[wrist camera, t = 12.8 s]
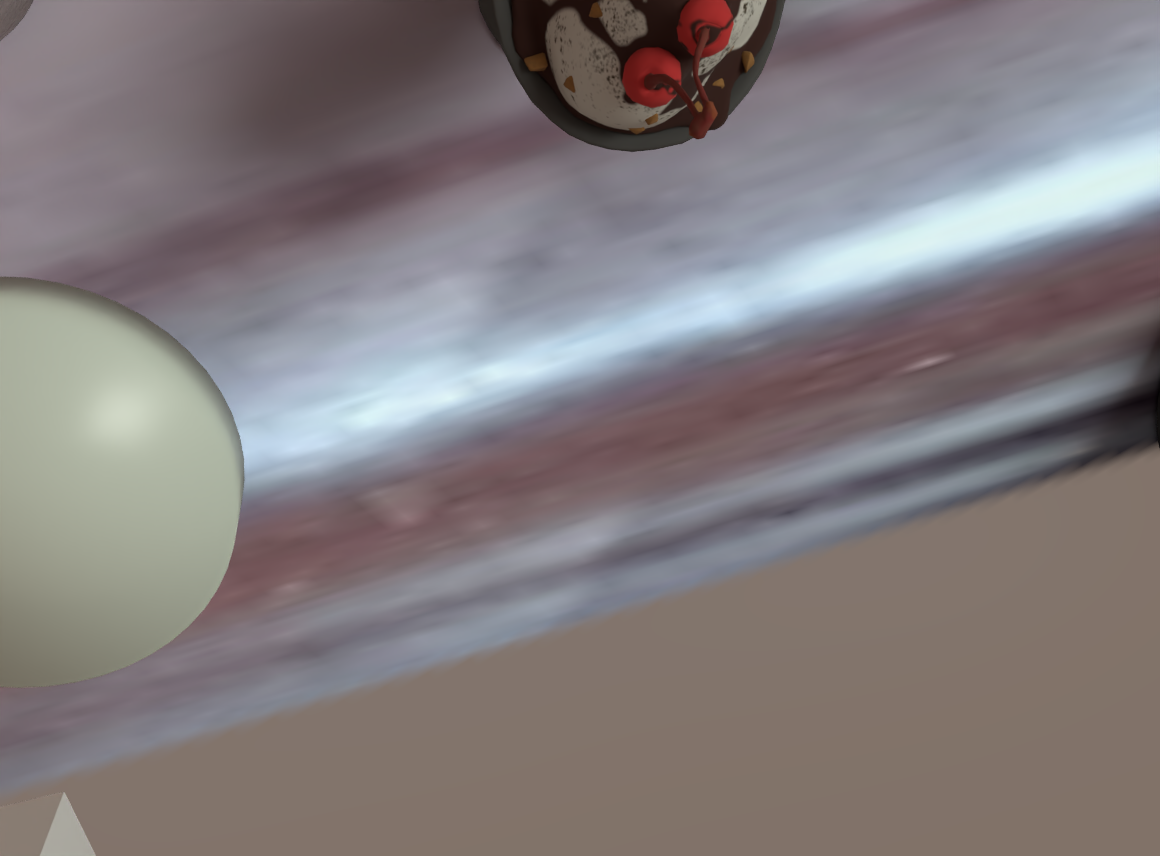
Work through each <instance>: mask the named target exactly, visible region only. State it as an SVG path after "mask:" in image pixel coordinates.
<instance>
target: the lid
mask: <svg viewBox="0 0 1160 856" xmlns="http://www.w3.org/2000/svg"><path fill="white" fill-rule="evenodd" d="M243 488H244V457H243V451H242V446H241V440H240V435H239V432H238V430H237V427H236V424H235V421H234V418H233V415H232V413H231V411H230V409H229V407H228V405H227V403H226V401H225V399H224V397H223V395H222V393H221V391H220V390H219V388H218V387H217V385H216V384H215V382H214V381H213V380H212V378H211V377H210V375H209V374H208V372H207V371H206V370H205V369H204V368H203V366H202V365H201V364H200V363H199V362H198V361H197V360H196V359H195V358H194V356H193V355H192V354H191V353H190V352H189V351H188V350H187V349H186V348H185V347H184V346H182V345H181V344H180V343H179V342H178V341H177V340H175V339H174V338H173V337H172V336H171V335H170V334H169V333H167V332H166V331H165V330H163V329H162V328H160V327H159V326H157V325H156V324H154V323H153V322H151V321H150V320H148V319H147V318H146V317H144V316H142V315H140V314H139V313H137V312H135V311H133V310H131V309H129V308H127V307H125V306H123V305H122V304H120V303H118V302H116V301H113V300H110V299H108V298H105V297H103V296H100V295H98V294H95V293H93V292H90V291H87V290H84V289H80V288H76V287H73V286H69V285H65V284H62V283H58V282H51V281H45V280H39V279H32V278H22V277H0V687H16V688H22V687H44V686H53V685H60V684H67V683H74V682H78V681H83V680H87V679H91V678H95V677H99V676H102V675H105V674H108V673H111V672H113V671H116V670H119V669H122V668H124V667H127V666H129V665H131V664H133V663H135V662H137V661H139V660H141V659H143V658H145V657H147V656H149V655H151V654H152V653H154V652H155V651H157V650H159V649H160V648H162V647H163V646H165V645H166V644H168V643H169V642H171V641H172V640H173V639H174V638H175V637H177V636H178V635H179V634H180V633H181V632H183V631H184V630H185V629H186V628H187V627H188V626H189V625H190V624H191V623H192V622H193V621H194V620H195V619H196V618H197V617H198V615H199V614H200V613H201V612H202V611H203V610H204V609H205V607H206V606H207V604H208V603H209V601H210V600H211V598H212V597H213V595H214V594H215V592H216V591H217V589H218V587H219V585H220V583H221V581H222V579H223V577H224V575H225V573H226V570H227V568H228V565H229V561H230V558H231V554H232V551H233V548H234V542H235V537H236V531H237V526H238V520H239V515H240V509H241V503H242V496H243Z"/></svg>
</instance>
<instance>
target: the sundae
mask: <svg viewBox="0 0 1160 856" xmlns="http://www.w3.org/2000/svg"><path fill="white" fill-rule="evenodd" d="M784 3H785V0H479V5H480V10H481V13H482V15H483V17H484V19H485V21H486V23H487V26H488V27H489V29H490V31H491V32H492V34H493V35H494V37H495V38H496V40H497V41H498V42H499V43H500V44H501V45H502V49H503V51H504V53H505V55H506V57H507V59H508V61H509V63H510V65H511V67H512V69H513V71H514V73H515V75H516V77H517V79H518V80H519V82H520V84H521V85H522V87H523V88H524V90H525V92H526V93H527V95H528V96H529V98H530V100H531V101H532V102H533V103H534V104H535V105H536V106H537V107H538V108H539V109H540V110H541V111H542V112H543V113H544V114H545V115H546V116H547V117H548V118H549V119H550V120H551V121H552V122H553V123H555V124H556V125H557V126H558V127H560V128H561V129H562V130H563V131H565V132H566V133H567V134H569V135H571V136H573V137H575V138H577V139H579V140H582V141H584V142H586V143H588V144H591V145H595V146H599V147H603V148H606V149H611V150H621V151H630V152H635V151H645V150H654V149H660V148H664V147H668V146H673V145H677V144H682V143H684V142H686V141H688V140H690V139H692V138H695V139H701V138H704V137H705V135H706V133H707V131H708V130H715V129H717V128H719V127H721V126H722V125H723V124H724V123H725V121H726V119H727V118H728V115H730V114H731V113H732V111H733V110H734V109H735V108H736V107H737V106H738V104H739V103H740V102H741V101H742V100H743V98H744V97H745V96H746V95H747V94H748V92H749V91H750V89H751V88H752V86H753V85H754V83H755V82H756V80H757V78H758V77H759V75H760V74H761V72H762V70H763V68H764V65H765V63H766V61H767V58H768V56H769V54H770V51H771V49H772V46H773V43H774V40H775V37H776V34H777V31H778V28H779V24H780V20H781V15H782V11H783V7H784Z"/></svg>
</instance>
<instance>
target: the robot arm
mask: <svg viewBox="0 0 1160 856" xmlns="http://www.w3.org/2000/svg"><path fill="white" fill-rule="evenodd" d="M1157 436H1158V443H1159V447H1160V391H1159V396H1158V404H1157ZM0 856H96V855H95V853H94V851H93V849H92V847H91V845H90V843H89V841H88V839H87V837H86V835H85V833H84V831H83V829H82V827H81V825H80V823H79V821H78V819H77V817H76V815H75V812H74V811H73V809H72V807H71V805H70V803H69V800H68V799H67V796H66V794H65V792H60V793H56V794H52V795H47V796H43V797H39V798H35V799H31V800H26V801H22V802H18V803H14V804H9V805H5V806H1V807H0Z"/></svg>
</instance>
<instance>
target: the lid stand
mask: <svg viewBox="0 0 1160 856" xmlns="http://www.w3.org/2000/svg"><path fill="white" fill-rule="evenodd" d="M32 2H33V0H0V40H2V39H3V38H4V37H5V36H6V35H8V34H9V33H10V32H11V31H12V30H13V29H14V28H15V27H16V26H17V25H18V24H19V22H20V21H21V20H22V19H23V18H24V16H25V14H26V13H27V11H28V9H29V8H30V6H31V4H32Z"/></svg>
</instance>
